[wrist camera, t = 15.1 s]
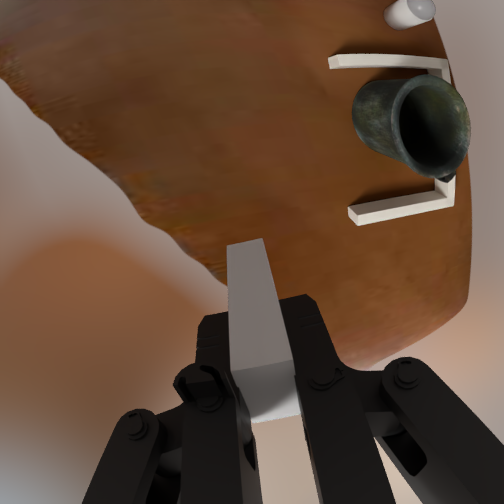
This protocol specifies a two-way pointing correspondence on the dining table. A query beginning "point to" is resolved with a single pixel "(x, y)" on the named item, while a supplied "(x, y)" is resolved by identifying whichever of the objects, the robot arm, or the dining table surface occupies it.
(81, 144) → the dining table surface
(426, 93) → the mug
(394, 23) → the cylinder
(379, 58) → the corral
